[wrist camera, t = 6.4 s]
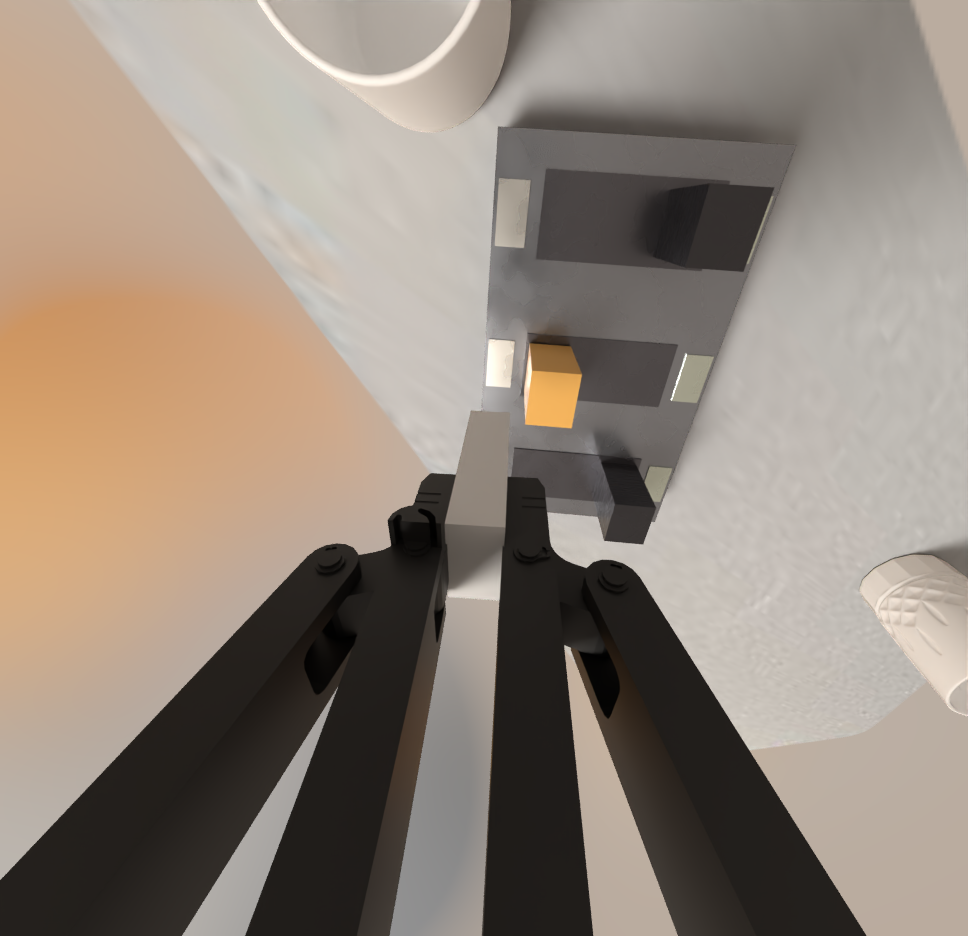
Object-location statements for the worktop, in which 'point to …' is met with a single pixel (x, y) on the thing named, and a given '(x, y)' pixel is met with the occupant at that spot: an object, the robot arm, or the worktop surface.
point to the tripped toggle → (551, 386)
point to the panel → (618, 300)
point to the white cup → (926, 619)
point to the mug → (403, 52)
